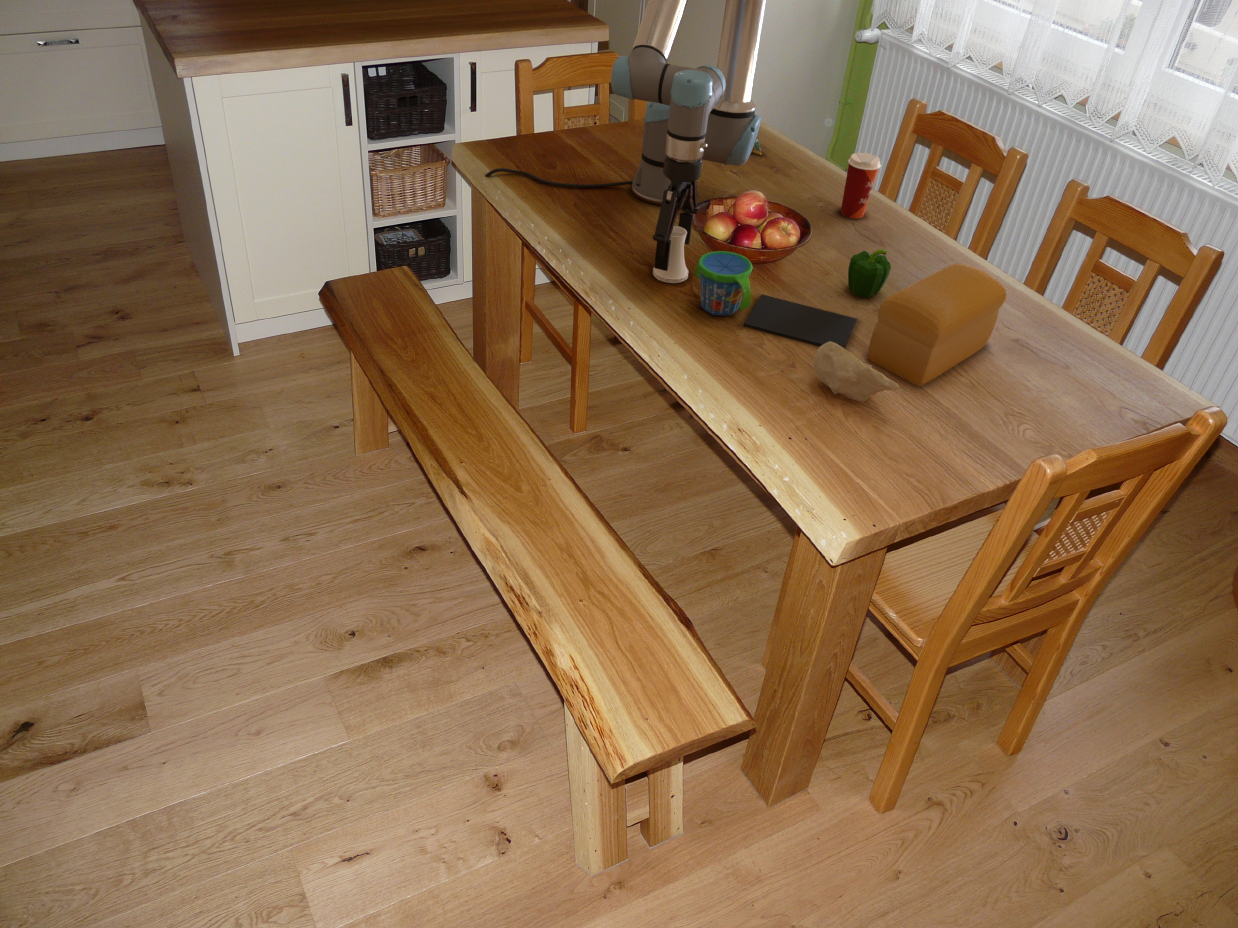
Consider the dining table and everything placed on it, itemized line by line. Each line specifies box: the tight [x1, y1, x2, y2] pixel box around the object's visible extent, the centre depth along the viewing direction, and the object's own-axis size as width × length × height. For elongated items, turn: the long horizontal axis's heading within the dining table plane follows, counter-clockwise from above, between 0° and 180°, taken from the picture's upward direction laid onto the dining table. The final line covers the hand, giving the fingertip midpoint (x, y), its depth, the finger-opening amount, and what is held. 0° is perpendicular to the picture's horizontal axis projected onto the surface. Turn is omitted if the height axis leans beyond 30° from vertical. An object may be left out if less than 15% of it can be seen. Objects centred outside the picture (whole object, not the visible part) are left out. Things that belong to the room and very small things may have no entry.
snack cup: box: [694, 250, 754, 317], centre depth 185 cm, size 16×10×10 cm
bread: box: [867, 263, 1007, 387], centre depth 176 cm, size 24×13×15 cm, turn 133°
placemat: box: [743, 294, 857, 349], centre depth 186 cm, size 20×13×1 cm, turn 68°
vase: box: [652, 225, 690, 284], centre depth 195 cm, size 8×8×10 cm
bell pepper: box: [847, 249, 892, 299], centre depth 194 cm, size 8×8×10 cm
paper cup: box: [840, 152, 882, 220], centre depth 223 cm, size 8×8×14 cm
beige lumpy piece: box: [813, 341, 900, 403], centre depth 167 cm, size 15×7×15 cm
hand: (672, 255), depth 195 cm, fingers open, 13 cm apart
